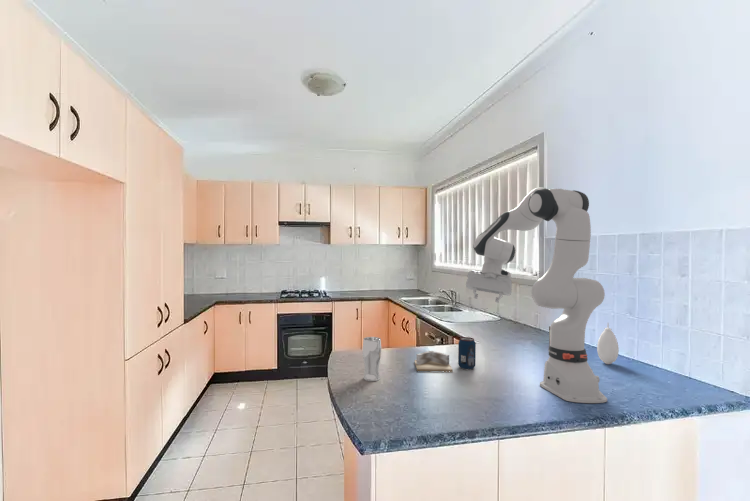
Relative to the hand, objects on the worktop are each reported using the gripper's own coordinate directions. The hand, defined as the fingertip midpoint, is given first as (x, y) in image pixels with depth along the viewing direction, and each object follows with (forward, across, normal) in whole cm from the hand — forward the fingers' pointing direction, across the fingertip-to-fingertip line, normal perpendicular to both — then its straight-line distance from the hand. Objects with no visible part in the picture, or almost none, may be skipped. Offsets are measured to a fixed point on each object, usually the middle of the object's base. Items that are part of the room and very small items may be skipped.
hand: (486, 300), depth 175 cm
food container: (+2, +35, +39) cm, 53 cm away
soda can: (+32, -3, -1) cm, 32 cm away
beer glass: (+51, -34, -23) cm, 65 cm away
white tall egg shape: (+10, +53, +21) cm, 58 cm away
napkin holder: (+36, -16, -4) cm, 40 cm away
